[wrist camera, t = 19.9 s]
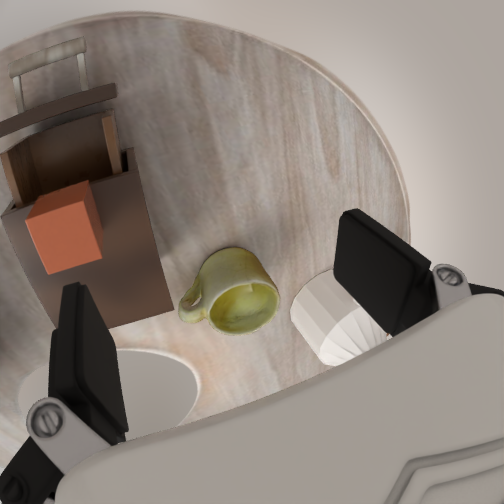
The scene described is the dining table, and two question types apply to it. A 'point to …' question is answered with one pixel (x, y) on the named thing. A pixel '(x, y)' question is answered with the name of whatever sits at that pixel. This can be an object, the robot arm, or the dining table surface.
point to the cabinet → (103, 254)
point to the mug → (231, 294)
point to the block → (66, 228)
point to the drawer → (60, 133)
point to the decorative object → (333, 321)
